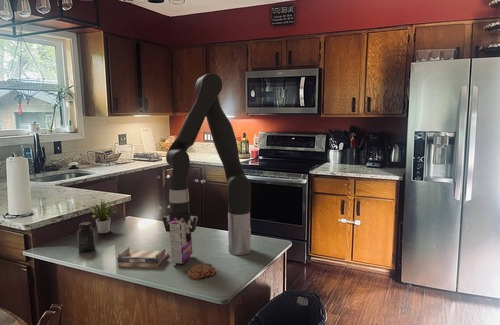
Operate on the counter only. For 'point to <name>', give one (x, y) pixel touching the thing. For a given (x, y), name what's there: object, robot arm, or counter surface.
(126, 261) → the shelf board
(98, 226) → the house plant
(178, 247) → the candy bar box
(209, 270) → the cookie
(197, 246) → the counter surface
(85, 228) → the supplement bottle
